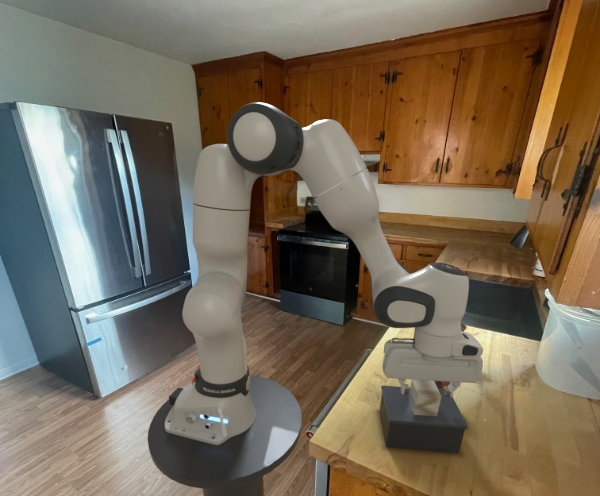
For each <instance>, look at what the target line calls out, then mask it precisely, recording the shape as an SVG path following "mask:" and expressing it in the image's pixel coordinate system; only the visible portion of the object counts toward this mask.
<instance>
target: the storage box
mask: <svg viewBox="0 0 600 496" xmlns="http://www.w3.org/2000/svg"><path fill="white" fill-rule="evenodd" d="M408 387H409V392H410V386H408ZM380 389H381V397H380V404H379V417H380V421H381V422H380V423H381V427H382V432H383V437H384V438H383V439H384V443H385V447H386V448H392V449H406V450H415V451H416V450H417V451H427V452H441V453H449V454H450V453H451V454H459V453H460V450H461V447H462V442H463V440H464V435H465V432H466V430H468V428H469V425H468V423H467V422H466V420H465V418H464V416H463V414H462V412H461V410H460V408H459V406H458V404H457V402H456V400H455V398H454V396H452V397H445V396H444V394H443V390H440V389H438V390H439V392H440V394H441V400H440V405H439V410H438V414H437V416H424V415H414V413H413V410H412V407H411V404H410V401H409V394H402V393H401V386H395V385H384V384H383V385H381V386H380Z"/></svg>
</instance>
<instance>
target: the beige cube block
mask: <svg viewBox="0 0 600 496" xmlns="http://www.w3.org/2000/svg"><path fill="white" fill-rule="evenodd" d="M410 380H411V381H410V386H409V387H410V392H409V401H410V404H411V407H412V410H413V413H414V415H424V416H437V414H438V410H439V405H440V400H441V394H440V392H439V390H438V388H437V386H436V384H435V382H434V381H430V380H413V379H410Z"/></svg>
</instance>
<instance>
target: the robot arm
mask: <svg viewBox="0 0 600 496" xmlns="http://www.w3.org/2000/svg"><path fill="white" fill-rule="evenodd" d="M226 141H227V144H226V143H214V144H211V145H208V146H206V147H204V148H203V149H201V152H200V153H199V155H198V159H197V163H196V168H195V174H194V181H193V192H192V245H193V247H194V249H195V255H196V262H197V269H198V271H197V272H198V274H197V278H196V281H195V283H194V284H193V286H192V287H191V288H190V290H188V292H187V294H186V295H185V299H184V303H183V307H182V314H181V315H182V320H183V323H184V325H185V326H186V328H187V329H188V330H189V332H191V333H192V335H193V338H194V341H195V344H196V348H197V354H198V363H199V364H198V365H197V369H196V370H195V371H194V373H193V377H192V378H191V380H190V382H191V383H188V385H186V386H185V387H183V388H182V387H177V388H176V389H175V390H174V391H173V392H172V393H170V395H169V396H168V399H169V401H170V405H174V406H173V407H172V409H171V410H170V412H169V413H168V415H167V417H166V420H165V431H166V432H168V433H171V434H175V435H179V436H183V437H186V438H190V439H194V440H198V441H202V442H206V443H209V444H213V445H220V444H222V443H223V442H225V441H226V440H227V439H229V438H231V437H233V436H236V435H239V434H241V433H243V432H244V431H246V430H247V429H249V428H250V427H251V426H252V424H253V423H254V421H255V418H256V411H255V408H254V406H253V403H252V400H251V396H250V391H249V390H250V375H251V374H250V368H249V365H248V357H247V355H248V354H247V340H246V338H245V334H244V330H243V329H244V328H243V323H242V308H243V303H244V300H245V298H246V294H247V286H248V242H249V229H250V217H251V216H250V215H251V198H252V191H253V186H254V184H255V182H256V180H258V179H261V178H267V177H273V176H278V175H282V174H285V173H287V172H289V171H294V172H295V173H297V174H298V175H299V176H300V177H301V178H302V180H303V182H304V183H305V185H306V186H307V188H308V191H309V192H310V195H311V197H312V198H313V200H314V202H315V204H316V207H317V208H318V210H319V211H320V213H321V214H322V215H323V217H324V218H325V220H326V221H327V223H328V224H329V225H330V227H332V228H333V229H334V230H335V231H338V232H339V233H342V234H344V235H346V236H347V237H348V238H349V239H350V240H351V241H352V242H353V244H354V245H355V247H356V248H357V250H358V252H359V254H360V256H361V257H362V260H363V262H364V263H365V265H366V267H367V269H368V271H369V274H370V275H369V276H370V291H371V295H372V304H373V312H374V315H375V317H376V319H377V320H378V321H379V322H380V323H381V324H382V325H384V326H386V327H388V328H392V329H412V328H414V330H413V331H414V332H413V338H409V337H406V338H405V337H402V338H399V337H392V338H391V339H388V340H387V341H386V342H384V345H383V354H384V356H383V361H382V366H381V367H382V372H383V374H384V376H385V377H386V378H387V379H397V380H398V383H399V385H400V387H401V393H402V394H409V387H410V386H409V384H408V383H406V380H412V379H413V380H430V381H447V382H451V383H450V384H449V385H448V386H444V390H443V394H444V396H445V397H453V395H454V392H455V391H456V390H457V389H458V388H459V387H461V384H462V383H467V384H476V383H478V382H479V381H480V380H481V378H482V373H483V367H484V360H483V357H482V355H483V354H484V347H483V346H482V345H481V343H480V341H479V340H478V339H477V338H476V337H474V335H472V334H471V333H469V332H466V331H464V332H463V331H461V323H462V319H463V318H464V316H465V314H466V311H467V310H466V309H467V305H468V300H469V299H468V298H469V289H470V279H469V276H468V275H467V274H466V272H465V271H463V270H462V269H460V268H459V267H458V266H455V265H453V264H449V263H445V262H430V263H429V264H428V265H426V266H425V267H423V268H421V269H419V270H417V271H415V272H412V273H411V271H410V270H409V269H408V268H407V267H406V266H404V265H403V264H402V263H400V262H399V261H398V260H397V258H396V257H395V255H394V252H393V251H392V249H391V247H390V245H389V243H388V241H387V239H386V237H385V234H384V232H383V229H382V226H381V222H380V203H379V199H378V194H377V191H376V186H375V184H374V180H373V178H372V176H371V173H370V171H369V169H368V168H367V164H366V162H365V160H364V157H363V156H362V155H361V152H360V151H359V149H358V148H357V146H356V145H355V143H354V141H353V139H352V138H351V137H350V135H349V133H348V132H347V131H346V129H345V128H344V127H343V125H342V124H341V123H340V122H339V121H337V120H334V119H320V120H317V121H314V122H313V123H311V124H309V125H308V126H305V127H302V125H301V124H300V123H299V122H298V121H296V120H295V119H293V118H292V117H291V116H289V115H288V114H286V113H285V112H283V111H282V110H280V109H279V108H277V107H276V106H274V105H272V104H269V103H267V102H266V103H265V102H258V101H257V102H249V103H247V104H244V105H242V106H241V107H240V108H238V109H237V110H236V111H235V112H234V114H232V116H231V118H230V120H229V123H228V125H227V131H226Z"/></svg>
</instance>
